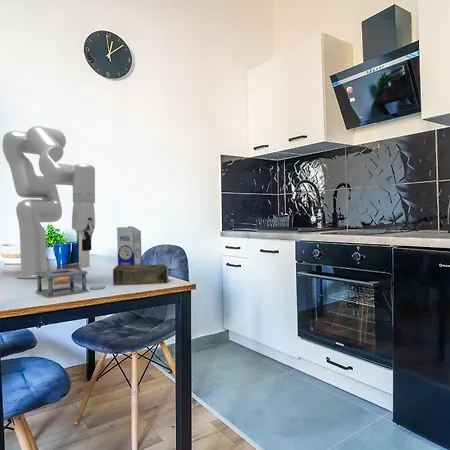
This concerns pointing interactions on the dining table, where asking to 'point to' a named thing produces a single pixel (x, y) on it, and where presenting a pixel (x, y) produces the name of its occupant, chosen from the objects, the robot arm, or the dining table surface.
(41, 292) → the guard frame
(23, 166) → the robot arm
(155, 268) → the dark brown box
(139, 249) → the milk carton
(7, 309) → the dining table surface
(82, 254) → the white tall block
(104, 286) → the mat
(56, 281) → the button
